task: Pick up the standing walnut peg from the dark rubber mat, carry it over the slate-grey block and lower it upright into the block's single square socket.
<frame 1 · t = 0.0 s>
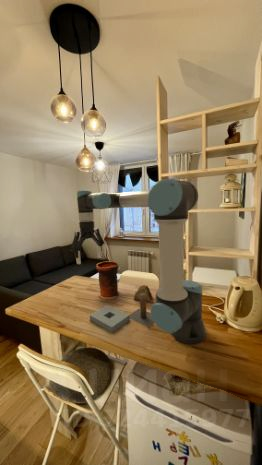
hand: (89, 260, 104), 28 cm above the table, fingers open, 13 cm apart
block: (109, 320, 97), on the table
rock: (142, 299, 117), on the table
peg: (143, 306, 97), on the mat
vessel: (109, 293, 126), on the table
mat: (143, 317, 98), on the table
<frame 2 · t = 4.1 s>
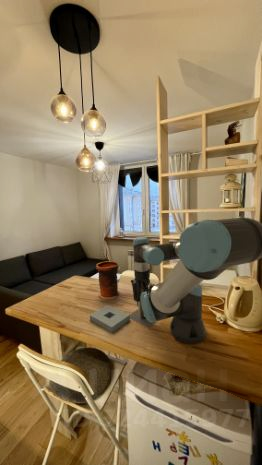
hand: (143, 314, 98), 2 cm above the table, fingers closed on peg, 3 cm apart
peg: (143, 306, 97), on the mat, touching gripper
everything else where it was.
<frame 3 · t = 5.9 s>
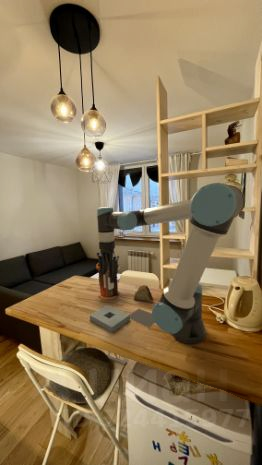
hand: (108, 287, 95), 17 cm above the table, fingers closed on peg, 2 cm apart
peg: (108, 283, 95), point 19 cm above the table, touching gripper
everything else where it was.
when the fingers open (4 cm above the table, at t = 8.0 s): peg stays where it is, resting in block.
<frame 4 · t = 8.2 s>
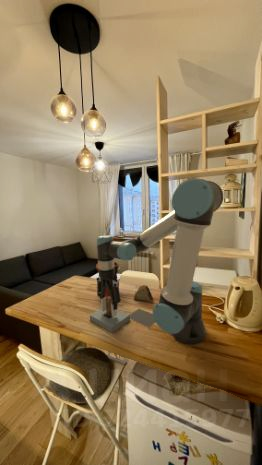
hand: (109, 312, 97), 4 cm above the table, fingers open, 7 cm apart
peg: (109, 309, 96), in the block
everything else where it was.
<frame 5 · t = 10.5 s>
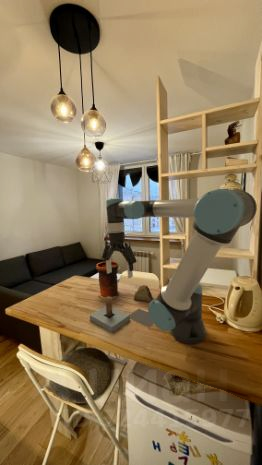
hand: (119, 275, 95), 23 cm above the table, fingers open, 13 cm apart
nothing on the table moved.
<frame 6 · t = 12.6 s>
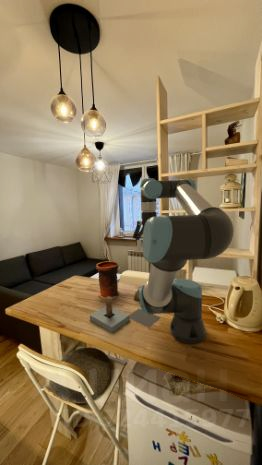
hand: (150, 253, 99), 32 cm above the table, fingers open, 13 cm apart
nothing on the table moved.
at the end: peg 0.1 cm off-centre on the block, point 6.0 cm above the block's base; peg tilted 0° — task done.
